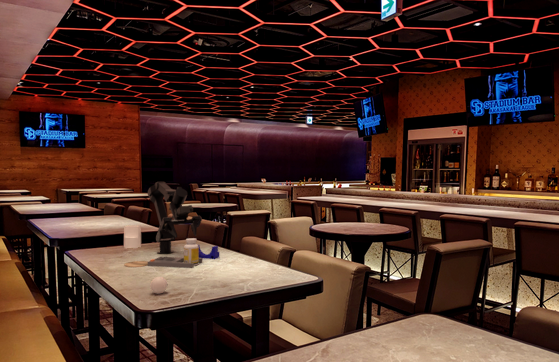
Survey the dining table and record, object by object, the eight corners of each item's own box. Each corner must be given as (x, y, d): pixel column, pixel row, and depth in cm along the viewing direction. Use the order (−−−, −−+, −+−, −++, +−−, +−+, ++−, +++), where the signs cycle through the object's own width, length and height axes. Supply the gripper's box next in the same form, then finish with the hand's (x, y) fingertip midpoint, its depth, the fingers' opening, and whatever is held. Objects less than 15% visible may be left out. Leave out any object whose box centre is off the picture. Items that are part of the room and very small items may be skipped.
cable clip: (219, 257, 196) (219, 245, 196) (214, 259, 192) (214, 247, 192) (198, 255, 201) (198, 244, 200) (193, 257, 196) (193, 245, 196)
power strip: (160, 260, 188) (160, 255, 188) (202, 262, 185) (202, 257, 185) (147, 265, 177) (147, 260, 177) (192, 267, 173) (192, 262, 173)
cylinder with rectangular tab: (120, 248, 220) (120, 226, 220) (129, 245, 229) (129, 224, 229) (135, 248, 219) (135, 227, 219) (143, 246, 228) (143, 225, 228)
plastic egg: (167, 295, 133) (167, 278, 133) (149, 296, 132) (150, 279, 132) (167, 288, 141) (167, 273, 140) (150, 290, 139) (150, 274, 139)
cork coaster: (132, 261, 186) (132, 260, 186) (154, 262, 184) (154, 261, 184) (119, 266, 175) (119, 265, 175) (142, 267, 173) (142, 266, 173)
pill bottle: (201, 263, 181) (201, 238, 181) (193, 266, 175) (193, 240, 175) (188, 262, 184) (188, 237, 183) (181, 265, 177) (181, 239, 177)
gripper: (162, 200, 183) (171, 226, 174) (200, 199, 194) (210, 223, 185) (157, 216, 189) (164, 242, 180) (193, 214, 200) (203, 238, 191)
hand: (186, 236), depth 184 cm, fingers open, 9 cm apart
